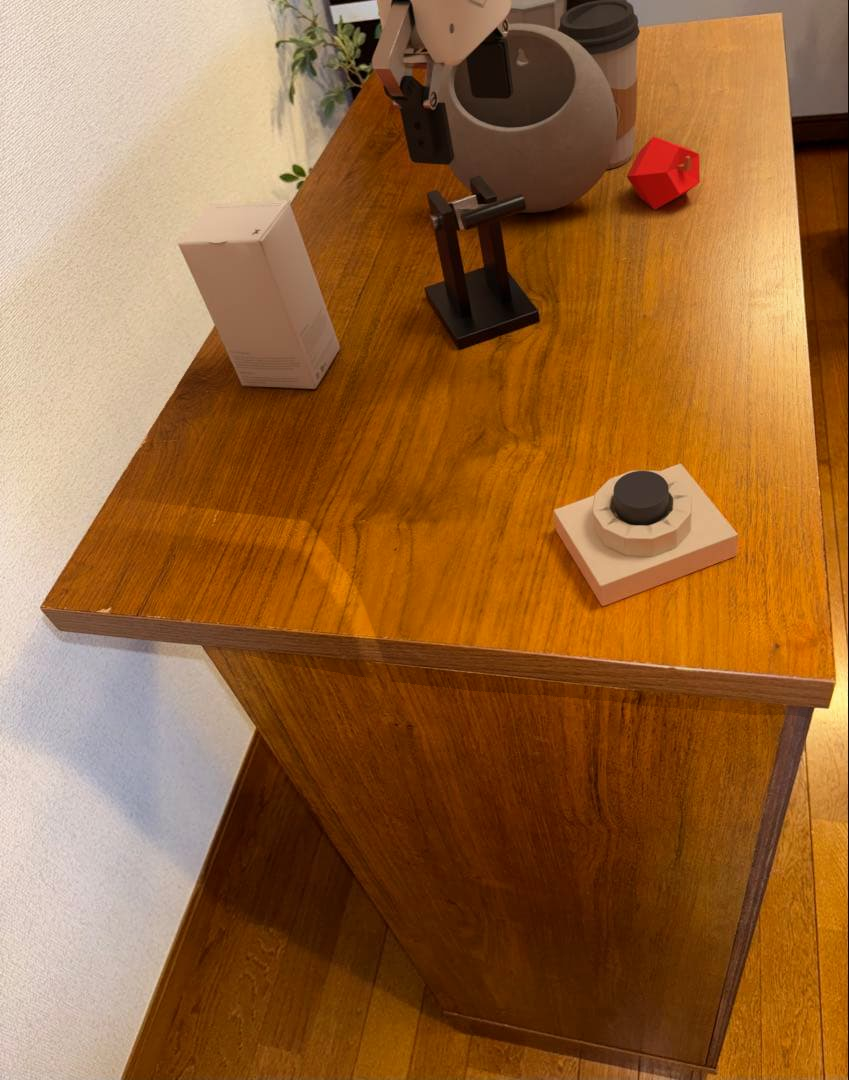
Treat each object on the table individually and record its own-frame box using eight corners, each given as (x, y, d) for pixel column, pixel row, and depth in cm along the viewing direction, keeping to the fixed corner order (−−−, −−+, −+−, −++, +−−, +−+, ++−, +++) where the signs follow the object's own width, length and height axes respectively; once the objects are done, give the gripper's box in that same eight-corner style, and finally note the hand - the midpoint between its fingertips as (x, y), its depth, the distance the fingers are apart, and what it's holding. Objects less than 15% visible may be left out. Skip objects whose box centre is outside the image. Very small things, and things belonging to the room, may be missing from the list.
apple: (607, 145, 99) (658, 137, 92) (660, 132, 102) (713, 123, 95) (615, 215, 102) (666, 212, 95) (667, 201, 104) (720, 198, 97)
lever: (529, 217, 77) (521, 185, 76) (469, 237, 76) (461, 206, 75) (490, 217, 88) (483, 190, 87) (438, 235, 87) (430, 208, 87)
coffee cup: (564, 179, 107) (551, 36, 96) (569, 143, 113) (557, 4, 102) (643, 171, 105) (638, 24, 94) (644, 135, 110) (639, -8, 100)
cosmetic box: (342, 350, 93) (295, 197, 82) (315, 394, 89) (262, 240, 78) (265, 346, 96) (210, 198, 85) (235, 389, 92) (173, 240, 81)
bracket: (540, 321, 90) (525, 202, 81) (458, 350, 89) (435, 233, 81) (501, 271, 97) (484, 157, 88) (426, 297, 96) (401, 185, 88)
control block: (680, 484, 72) (680, 444, 70) (737, 556, 67) (739, 515, 64) (555, 530, 72) (550, 491, 69) (602, 607, 66) (598, 568, 63)
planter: (441, 229, 105) (405, 47, 91) (460, 195, 109) (428, 17, 96) (614, 228, 98) (603, 32, 85) (627, 192, 103) (618, 0, 89)
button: (653, 482, 68) (653, 463, 67) (678, 514, 66) (678, 496, 64) (606, 499, 68) (604, 481, 67) (629, 533, 65) (627, 515, 64)
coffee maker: (485, 142, 117) (460, -22, 104) (503, 108, 122) (481, -51, 109) (611, 136, 112) (601, -37, 99) (623, 101, 117) (615, -67, 104)
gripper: (403, -112, 51) (457, 193, 63) (534, -207, 60) (559, 74, 73) (286, -103, 54) (359, 186, 66) (428, -194, 64) (469, 73, 76)
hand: (464, 127), depth 70 cm, fingers open, 9 cm apart
